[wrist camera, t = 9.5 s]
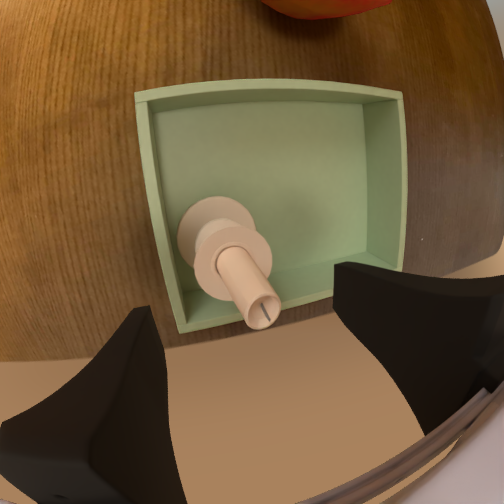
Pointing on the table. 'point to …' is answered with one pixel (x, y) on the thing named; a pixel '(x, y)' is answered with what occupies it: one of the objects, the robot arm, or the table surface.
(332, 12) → the apple
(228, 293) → the candle
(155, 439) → the robot arm
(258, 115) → the open box
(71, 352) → the table surface
